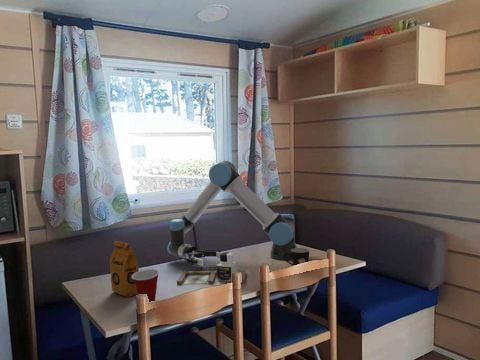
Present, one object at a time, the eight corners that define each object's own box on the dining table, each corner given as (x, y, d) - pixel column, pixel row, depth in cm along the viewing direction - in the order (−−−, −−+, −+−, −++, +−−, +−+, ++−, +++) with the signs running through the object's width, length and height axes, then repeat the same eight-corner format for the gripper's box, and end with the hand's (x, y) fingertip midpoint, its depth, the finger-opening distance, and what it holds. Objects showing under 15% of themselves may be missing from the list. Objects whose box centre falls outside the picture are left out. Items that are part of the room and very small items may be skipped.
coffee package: (122, 299, 170) (119, 247, 168) (109, 292, 179) (105, 242, 177) (144, 293, 177) (141, 242, 175) (129, 286, 186) (126, 238, 184)
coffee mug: (311, 268, 201) (311, 248, 200) (307, 274, 193) (306, 253, 192) (288, 266, 206) (288, 246, 205) (283, 271, 198) (282, 251, 197)
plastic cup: (127, 303, 166) (125, 274, 165) (150, 295, 174) (148, 267, 173) (143, 309, 159) (141, 279, 157) (166, 301, 166) (164, 272, 165)
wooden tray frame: (245, 273, 198) (245, 270, 198) (244, 283, 184) (244, 280, 184) (183, 274, 200) (183, 271, 200) (177, 284, 186) (176, 281, 185)
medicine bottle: (217, 280, 189) (216, 254, 188) (223, 275, 196) (222, 250, 195) (231, 281, 187) (230, 255, 186) (237, 276, 193) (236, 251, 192)
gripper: (208, 254, 222) (234, 261, 206) (168, 264, 205) (193, 273, 189) (207, 240, 221) (233, 246, 205) (167, 249, 205) (192, 257, 189)
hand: (214, 259), depth 197 cm, fingers open, 13 cm apart
